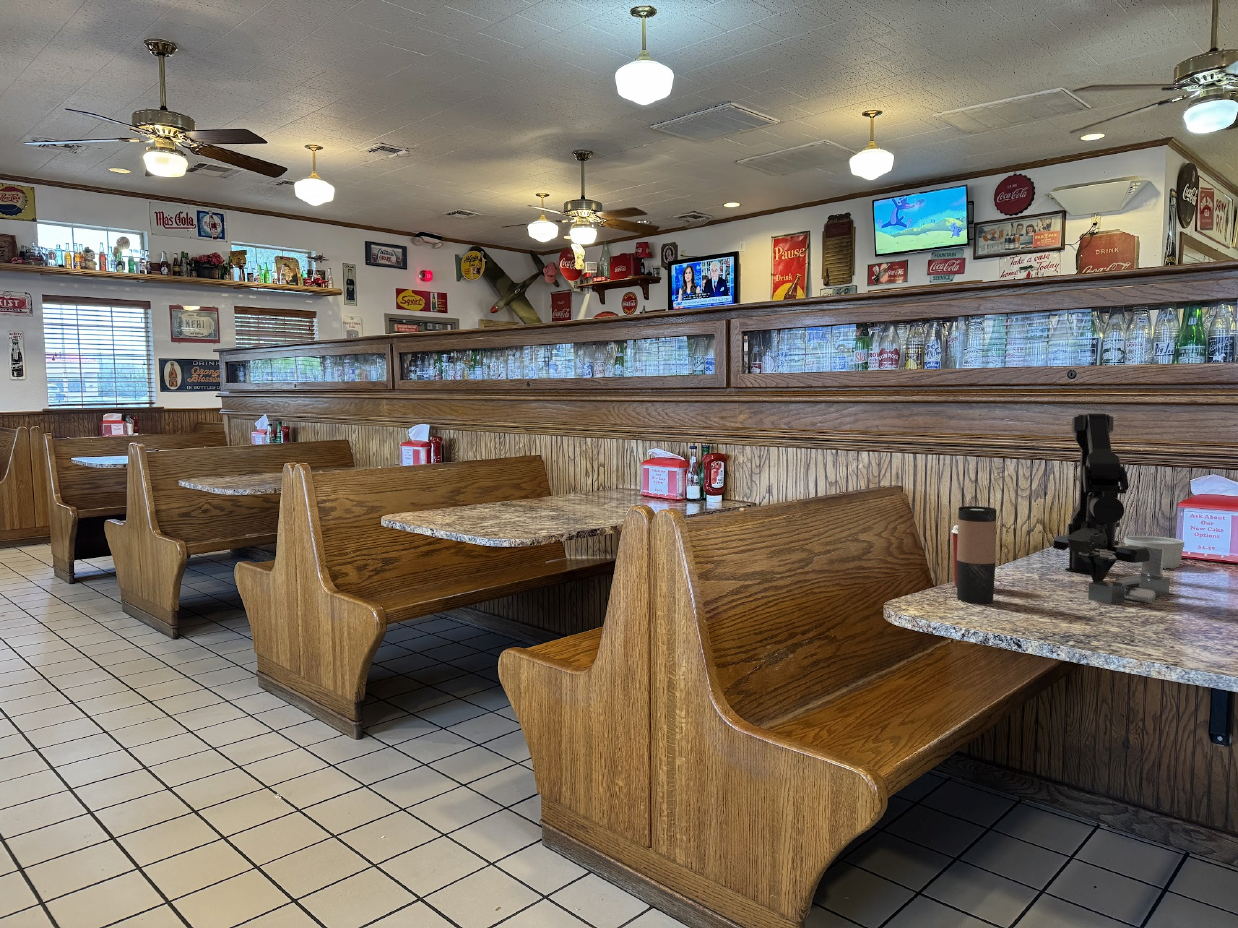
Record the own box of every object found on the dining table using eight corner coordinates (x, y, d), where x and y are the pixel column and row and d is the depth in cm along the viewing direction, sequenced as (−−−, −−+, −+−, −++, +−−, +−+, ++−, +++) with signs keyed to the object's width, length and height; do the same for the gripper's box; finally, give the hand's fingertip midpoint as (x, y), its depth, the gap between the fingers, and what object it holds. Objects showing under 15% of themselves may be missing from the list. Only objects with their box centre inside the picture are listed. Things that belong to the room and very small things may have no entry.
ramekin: (1114, 560, 220) (1115, 534, 220) (1166, 561, 218) (1167, 535, 218) (1138, 569, 207) (1139, 542, 207) (1194, 571, 205) (1195, 543, 205)
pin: (1093, 596, 178) (1093, 582, 177) (1109, 592, 182) (1109, 579, 181) (1144, 605, 169) (1144, 591, 169) (1159, 601, 173) (1160, 587, 173)
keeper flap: (1139, 574, 183) (1142, 546, 182) (1142, 574, 183) (1144, 546, 183) (1160, 578, 179) (1163, 549, 179) (1162, 578, 179) (1165, 549, 179)
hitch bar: (1088, 599, 175) (1088, 580, 175) (1145, 589, 185) (1146, 571, 184) (1111, 604, 171) (1112, 584, 170) (1169, 593, 180) (1169, 574, 180)
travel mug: (999, 599, 175) (1002, 508, 174) (987, 606, 169) (989, 511, 168) (963, 594, 180) (965, 505, 179) (950, 600, 175) (952, 508, 173)
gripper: (1038, 513, 184) (1035, 581, 185) (1121, 525, 167) (1116, 600, 168) (1070, 510, 189) (1066, 576, 190) (1153, 522, 172) (1148, 594, 173)
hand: (1097, 586), depth 180 cm, fingers closed
